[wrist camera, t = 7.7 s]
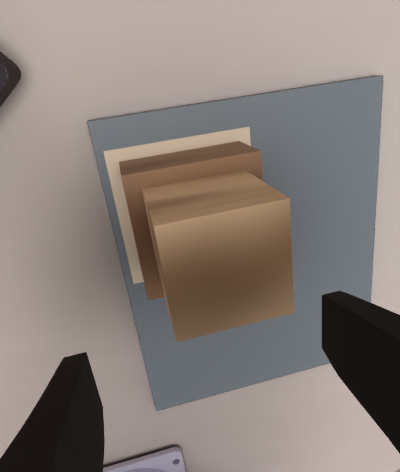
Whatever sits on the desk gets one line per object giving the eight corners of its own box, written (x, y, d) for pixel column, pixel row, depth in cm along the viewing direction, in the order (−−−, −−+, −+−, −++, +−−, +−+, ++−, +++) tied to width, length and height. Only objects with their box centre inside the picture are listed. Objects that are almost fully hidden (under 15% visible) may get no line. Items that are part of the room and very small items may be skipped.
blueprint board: (362, 347, 27) (368, 353, 27) (155, 404, 25) (156, 412, 24) (376, 75, 20) (384, 75, 20) (88, 120, 18) (87, 121, 17)
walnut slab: (248, 248, 22) (268, 272, 19) (142, 271, 21) (147, 300, 18) (238, 140, 19) (260, 150, 16) (118, 161, 18) (120, 175, 16)
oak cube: (252, 261, 18) (294, 312, 14) (160, 282, 18) (176, 342, 14) (244, 169, 17) (289, 198, 13) (141, 189, 16) (153, 226, 12)
